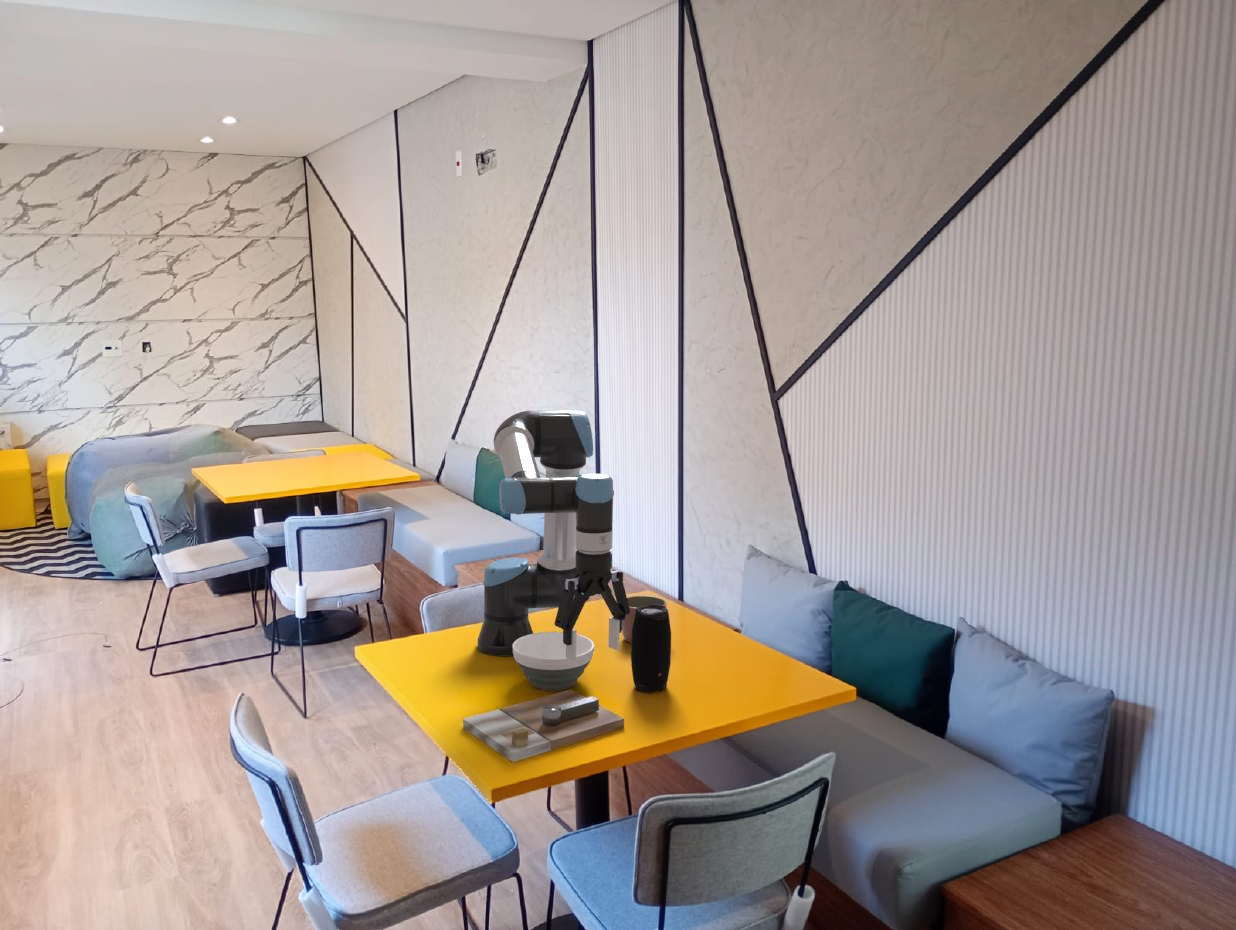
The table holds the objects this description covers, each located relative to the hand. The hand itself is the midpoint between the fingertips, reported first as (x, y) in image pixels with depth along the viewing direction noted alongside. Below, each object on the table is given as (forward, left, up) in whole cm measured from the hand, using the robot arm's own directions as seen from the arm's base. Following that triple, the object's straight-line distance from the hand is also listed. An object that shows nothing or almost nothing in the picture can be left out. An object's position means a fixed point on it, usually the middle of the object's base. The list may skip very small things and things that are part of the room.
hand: (592, 653), depth 201 cm
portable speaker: (-13, +27, -18) cm, 35 cm away
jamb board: (-9, -6, -18) cm, 21 cm away
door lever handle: (-6, -1, -15) cm, 17 cm away
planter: (-40, +47, -18) cm, 64 cm away
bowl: (-29, +10, -18) cm, 36 cm away
